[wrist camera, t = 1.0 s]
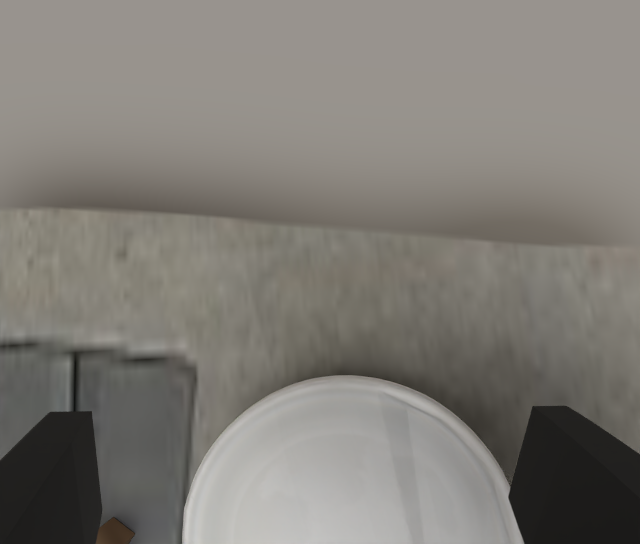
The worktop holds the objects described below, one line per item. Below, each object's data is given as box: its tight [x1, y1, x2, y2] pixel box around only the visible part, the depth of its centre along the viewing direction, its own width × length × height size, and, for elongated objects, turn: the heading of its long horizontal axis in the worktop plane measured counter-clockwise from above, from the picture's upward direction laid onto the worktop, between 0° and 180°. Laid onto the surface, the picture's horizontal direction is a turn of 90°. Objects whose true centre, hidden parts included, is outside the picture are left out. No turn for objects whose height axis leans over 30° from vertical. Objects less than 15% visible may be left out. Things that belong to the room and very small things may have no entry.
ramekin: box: [182, 375, 524, 544], centre depth 22 cm, size 11×11×5 cm
